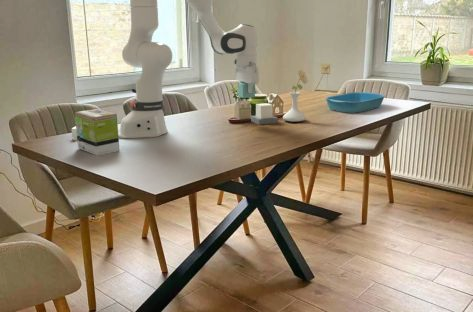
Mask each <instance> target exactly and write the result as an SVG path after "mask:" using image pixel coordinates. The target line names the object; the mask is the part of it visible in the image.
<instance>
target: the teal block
mask: <svg viewBox="0 0 473 312" xmlns="http://www.w3.org/2000/svg"><path fill="white" fill-rule="evenodd" d="M247 89H248V83H246V82H245V83H240V82H238V84H237V90H238V91H237V96H238V97H239V98H242V99H243V98H244V99H245V98H249V99H250V98H256V84H253V88H252V93H247Z"/></svg>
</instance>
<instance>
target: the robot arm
mask: <svg viewBox="0 0 473 312" xmlns="http://www.w3.org/2000/svg"><path fill="white" fill-rule="evenodd" d="M185 1H186V3H187V4H188V5H189V7H190V8H191V10H192V11H193V12H194V14H195V15H196V16H197V19H199V21H200V23H201V24H202V26H203V28H204V30H205V31H206V33H207V35H208V38H209V41H210V45H211V48H212V50H213V51H214V53H216V54H219V55H234V54H236V56H237V57H236V58H235V59H234V60H233V64H234V77H235V81H237V82H238V81H239V83H248V89H247V93H252V88H253V84H255V85H257V84H258V83H259V80H260V78H259V77H260V75H259V74H260V73H259V67H258V66H257V59H258V58H257V57H258V55H257V54H258V53H257V47H258V37H257V36H258V35H257V28H256V27H255V26H254V25H251V24H244V23H241V24H239V25H238V26H237V27H235V28H232V29H230V30H228V31H225V30H223V29H222V28H221V26H220V24H219V23H218V21H217V19H216V17H215V16H214V13H213V8H212V7H213V4H214V0H185ZM129 4H130V6H129V8H130V23H131V24H130V33H129V37H128V40H127V42H126V44H125V45H124V46H123V49H122V52H121V56H122V59H123V61H124V63H126V64H127V65H129V66H131V67H134V68H140V69H141V75H140V76H139V79H137V80H136V82H135V95H136V97H135V98H136V100H135V101H133V100H132V101H130V102H129V105H130V106H131V109H132V110H131V111H130V112H129V113H128V114H127V115H125V116H124V117H123V118H121V122H120V127H119V128H120V129H118V136H119V139H139V138H140V139H141V138H155V137H156V138H158V137H159V136H162V135H164V134H167V133H168V132H169V131H168V128H167V124H166V121H165V115H164V114H165V102H164V100H163V79H164V76H165V75H164V74H165V72H166V70H167V69H168V67H169V66H170V65H171V64H172V61H173V52H172V51H173V50H172V49H171V47H170V46H168V44H165V43H162V42H158V41H152V39H153V36H154V33H155V31H156V30H157V29H158V28H159V10H158V9H159V8H158V0H130V1H129Z"/></svg>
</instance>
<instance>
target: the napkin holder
mask: <svg viewBox="0 0 473 312" xmlns="http://www.w3.org/2000/svg"><path fill="white" fill-rule="evenodd" d="M71 137H72V138H71V139H72V140H73V141H77V133H76V125H75V126H74V127H72V128H71Z"/></svg>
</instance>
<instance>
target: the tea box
mask: <svg viewBox="0 0 473 312" xmlns="http://www.w3.org/2000/svg"><path fill="white" fill-rule="evenodd" d="M117 116H118V113H114V112H110V111H106V110H103V109H100V108H93V109H87V110H86V109H85V110H81V111H75V112H74V121H75V126H76V133H77V140H76V141H77V149H78V150H83V151H85V152H87V153H89V154H91V155H93V156H94V155H95V156H96V157H98V156H103V155H107V154H112V153H115V152H119V151H121V150H120V138H119V136H118V130H119V127H118V117H117Z"/></svg>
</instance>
